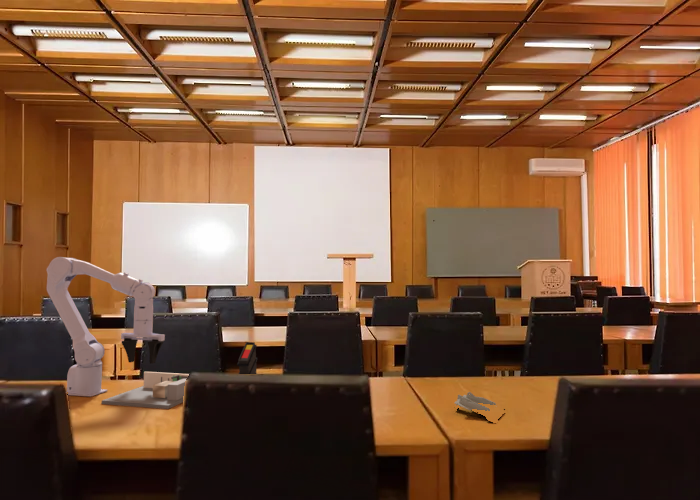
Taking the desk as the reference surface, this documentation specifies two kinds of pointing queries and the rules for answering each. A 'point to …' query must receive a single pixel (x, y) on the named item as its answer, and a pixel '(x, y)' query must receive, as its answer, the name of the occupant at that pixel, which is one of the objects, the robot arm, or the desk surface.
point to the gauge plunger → (162, 388)
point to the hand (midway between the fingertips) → (141, 362)
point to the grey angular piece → (473, 402)
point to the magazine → (248, 359)
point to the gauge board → (145, 393)
